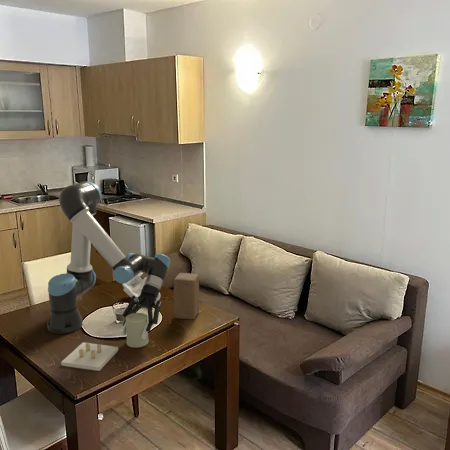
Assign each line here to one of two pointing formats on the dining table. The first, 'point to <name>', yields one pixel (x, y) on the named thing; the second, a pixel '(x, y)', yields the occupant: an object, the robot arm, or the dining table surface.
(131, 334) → the can
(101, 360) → the standoff plate
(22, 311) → the dining table surface
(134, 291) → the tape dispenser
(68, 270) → the robot arm
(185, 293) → the wooden block
